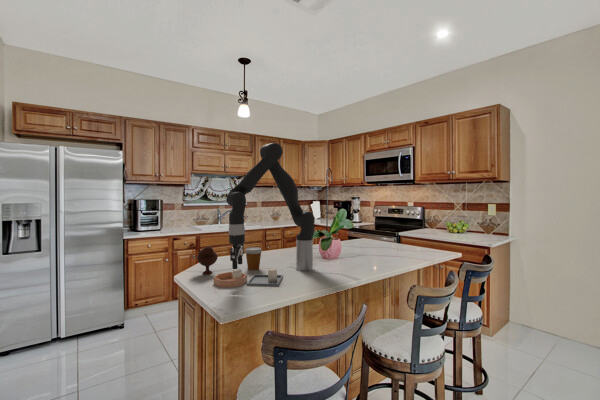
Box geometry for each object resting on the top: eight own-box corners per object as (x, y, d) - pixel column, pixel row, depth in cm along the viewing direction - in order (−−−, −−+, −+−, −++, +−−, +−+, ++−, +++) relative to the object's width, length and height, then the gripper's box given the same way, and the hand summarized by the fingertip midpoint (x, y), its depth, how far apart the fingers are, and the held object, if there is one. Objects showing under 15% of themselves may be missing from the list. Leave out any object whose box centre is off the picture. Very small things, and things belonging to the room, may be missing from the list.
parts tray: (254, 277, 154) (254, 274, 154) (282, 278, 153) (282, 275, 153) (246, 286, 139) (246, 283, 139) (278, 287, 138) (278, 284, 138)
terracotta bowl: (221, 278, 152) (221, 271, 152) (249, 279, 151) (249, 272, 151) (210, 287, 137) (210, 280, 137) (241, 288, 136) (241, 280, 136)
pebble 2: (268, 279, 148) (268, 268, 148) (277, 279, 147) (277, 268, 147) (267, 282, 143) (267, 271, 143) (276, 282, 143) (276, 271, 143)
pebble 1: (234, 280, 146) (234, 269, 146) (242, 280, 146) (242, 269, 146) (231, 283, 142) (231, 271, 142) (240, 283, 141) (240, 271, 141)
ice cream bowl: (221, 271, 165) (221, 244, 165) (210, 277, 155) (210, 248, 154) (204, 270, 168) (204, 243, 168) (192, 275, 158) (192, 247, 157)
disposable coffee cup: (259, 272, 164) (259, 250, 164) (242, 271, 166) (242, 250, 165) (263, 267, 174) (263, 247, 173) (248, 267, 175) (248, 246, 175)
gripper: (233, 231, 151) (234, 262, 151) (224, 235, 136) (225, 270, 137) (248, 231, 150) (248, 262, 151) (240, 235, 136) (241, 270, 136)
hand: (237, 266), depth 144 cm, fingers open, 8 cm apart
